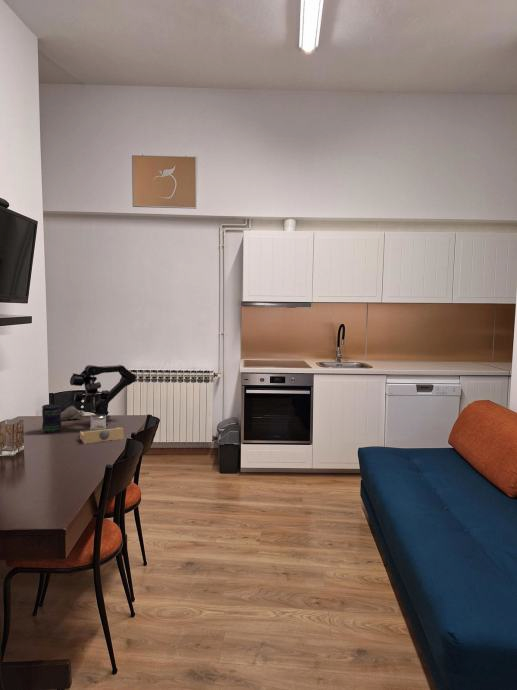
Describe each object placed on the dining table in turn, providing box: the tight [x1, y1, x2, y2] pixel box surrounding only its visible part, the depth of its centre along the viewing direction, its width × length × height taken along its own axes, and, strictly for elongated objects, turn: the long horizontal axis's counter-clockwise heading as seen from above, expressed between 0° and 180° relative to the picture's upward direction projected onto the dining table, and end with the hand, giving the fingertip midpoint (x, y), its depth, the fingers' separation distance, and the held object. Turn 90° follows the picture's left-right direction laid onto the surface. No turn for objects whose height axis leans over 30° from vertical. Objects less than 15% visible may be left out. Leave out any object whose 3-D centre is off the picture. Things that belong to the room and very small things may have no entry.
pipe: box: [61, 405, 85, 422], centre depth 302 cm, size 16×9×15 cm
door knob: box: [87, 414, 107, 432], centre depth 267 cm, size 14×14×11 cm
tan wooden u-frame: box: [79, 427, 125, 445], centre depth 260 cm, size 11×20×6 cm, turn 121°
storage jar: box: [41, 403, 62, 435], centre depth 272 cm, size 10×10×15 cm
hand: (94, 408), depth 273 cm, fingers closed
